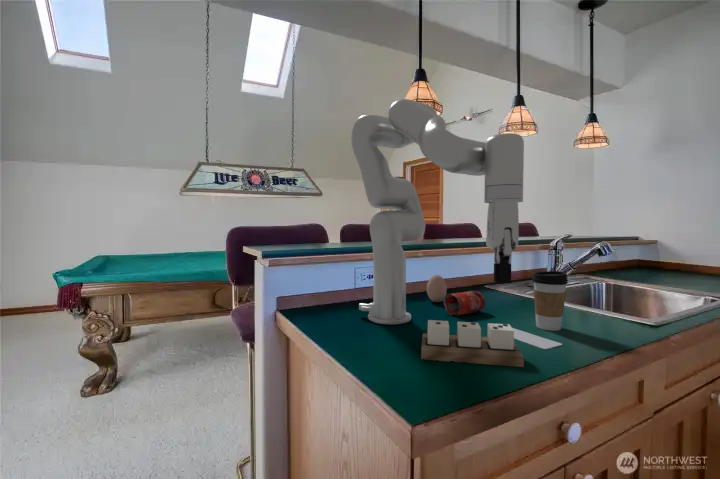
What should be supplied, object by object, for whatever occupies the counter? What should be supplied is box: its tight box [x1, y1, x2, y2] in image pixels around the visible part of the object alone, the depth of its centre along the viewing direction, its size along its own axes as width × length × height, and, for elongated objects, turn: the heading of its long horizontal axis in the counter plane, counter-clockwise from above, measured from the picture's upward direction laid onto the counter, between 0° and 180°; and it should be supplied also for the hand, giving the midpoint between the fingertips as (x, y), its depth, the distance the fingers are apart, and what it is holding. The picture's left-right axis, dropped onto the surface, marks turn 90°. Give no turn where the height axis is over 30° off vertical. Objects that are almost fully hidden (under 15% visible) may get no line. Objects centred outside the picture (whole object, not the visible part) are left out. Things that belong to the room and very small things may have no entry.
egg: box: [426, 274, 448, 303], centre depth 124 cm, size 7×7×10 cm
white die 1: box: [427, 319, 450, 345], centre depth 78 cm, size 4×4×4 cm
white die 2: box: [456, 321, 482, 348], centre depth 77 cm, size 4×4×4 cm
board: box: [420, 332, 525, 368], centre depth 77 cm, size 20×11×2 cm, turn 79°
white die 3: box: [486, 322, 515, 350], centre depth 76 cm, size 4×4×4 cm
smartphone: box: [512, 327, 564, 351], centre depth 87 cm, size 7×1×15 cm
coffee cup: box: [532, 270, 569, 332], centre depth 95 cm, size 8×8×15 cm
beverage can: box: [443, 290, 486, 317], centre depth 110 cm, size 7×12×7 cm, turn 117°
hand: (502, 282), depth 75 cm, fingers closed
